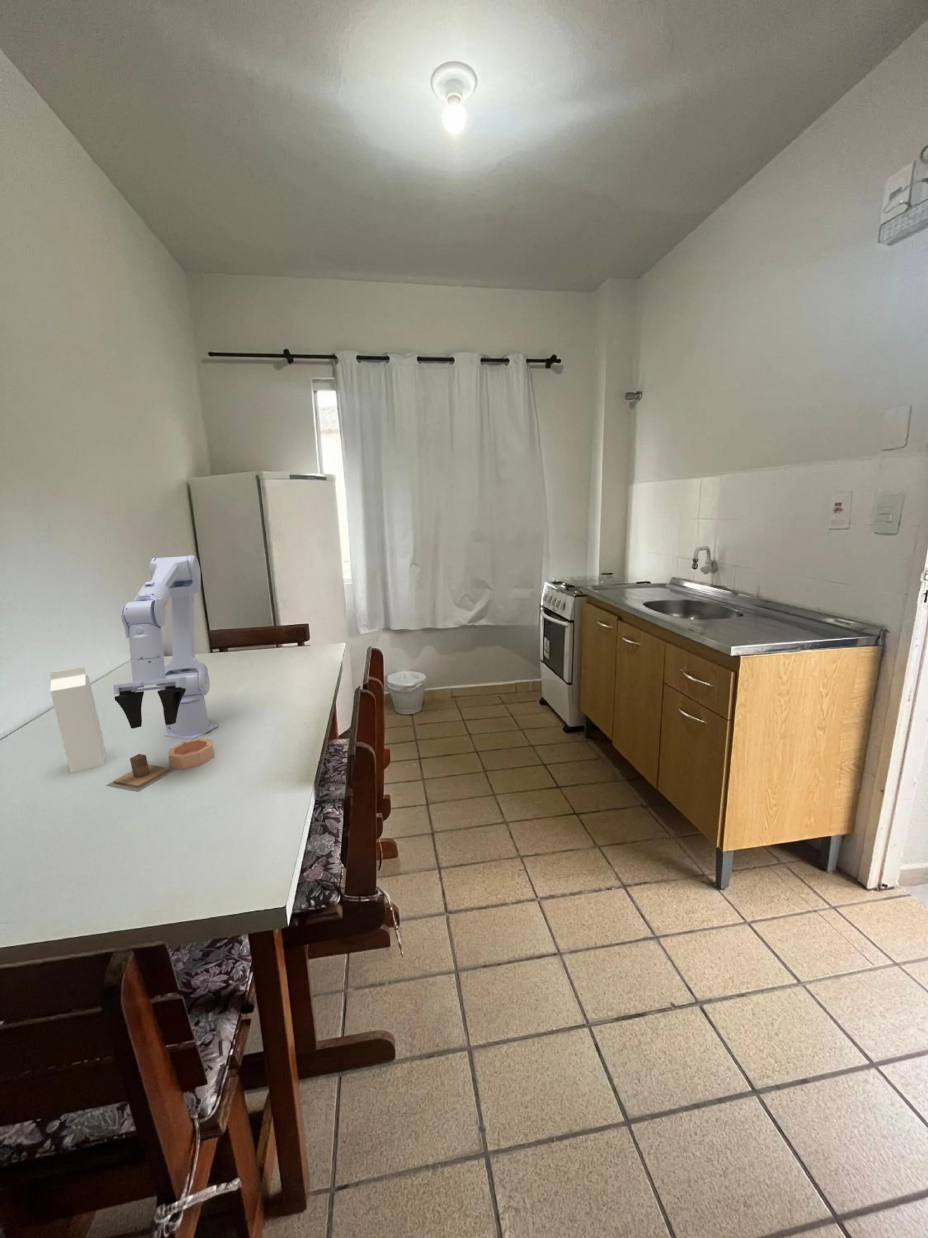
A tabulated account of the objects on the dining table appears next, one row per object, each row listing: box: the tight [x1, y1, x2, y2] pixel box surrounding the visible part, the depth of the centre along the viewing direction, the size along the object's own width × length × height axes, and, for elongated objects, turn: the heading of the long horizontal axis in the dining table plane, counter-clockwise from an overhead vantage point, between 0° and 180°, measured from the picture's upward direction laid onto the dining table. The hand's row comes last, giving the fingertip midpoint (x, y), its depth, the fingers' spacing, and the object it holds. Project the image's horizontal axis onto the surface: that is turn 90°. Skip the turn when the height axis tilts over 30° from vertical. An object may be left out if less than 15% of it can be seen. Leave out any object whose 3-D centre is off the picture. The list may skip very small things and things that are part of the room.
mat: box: [105, 763, 178, 793], centre depth 106 cm, size 9×9×1 cm
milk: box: [49, 666, 108, 774], centre depth 111 cm, size 6×6×22 cm
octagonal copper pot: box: [167, 737, 215, 770], centre depth 112 cm, size 8×8×3 cm
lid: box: [112, 753, 170, 788], centre depth 105 cm, size 7×7×5 cm
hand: (153, 726), depth 103 cm, fingers open, 7 cm apart
